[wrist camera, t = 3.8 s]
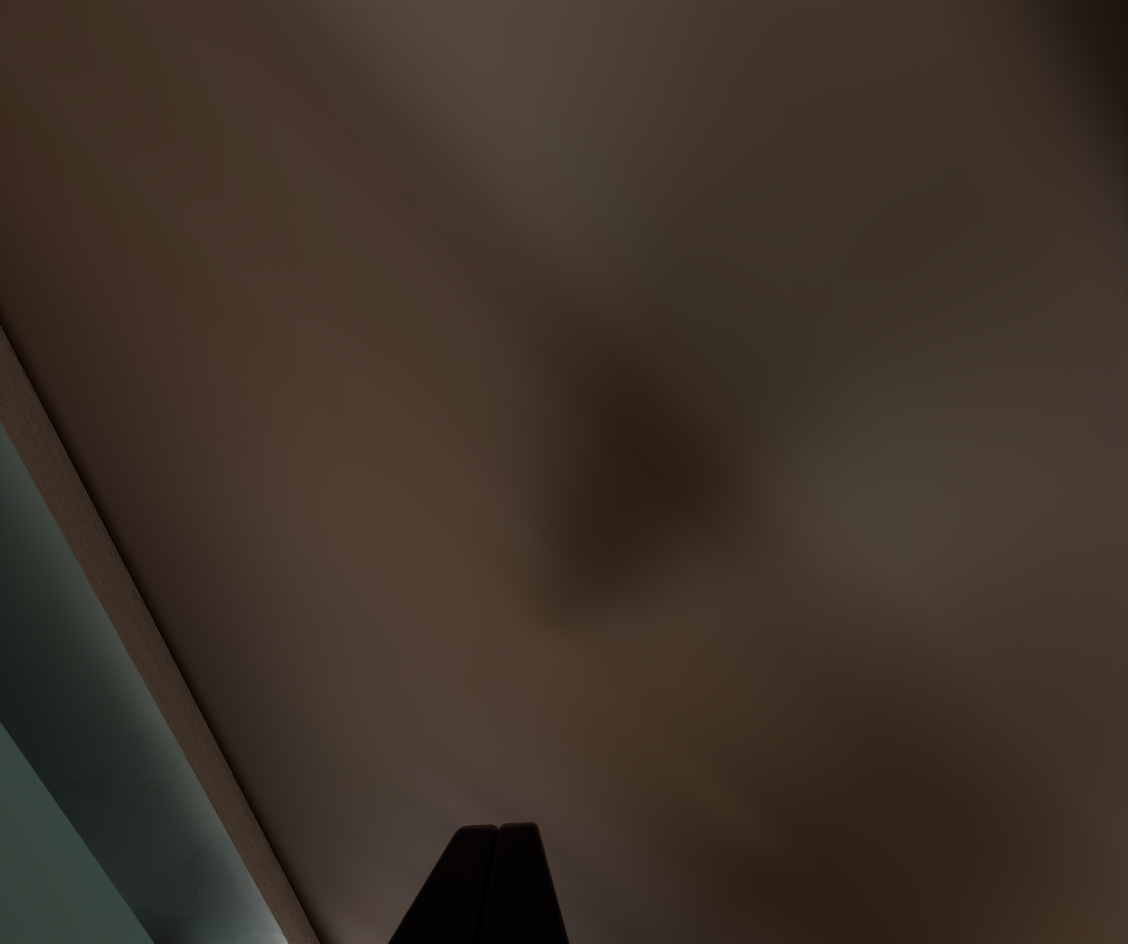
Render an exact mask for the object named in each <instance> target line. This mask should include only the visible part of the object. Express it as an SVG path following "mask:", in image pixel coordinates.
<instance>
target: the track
mask: <svg viewBox="0 0 1128 944" xmlns="http://www.w3.org/2000/svg"><path fill="white" fill-rule="evenodd" d="M0 722H1V724H2V725H3V727H4V728H5V729H6V731H7V732H8V734H9V735H10V737H11V738H12V740H13V741H14V742H15V744H16V745H17V747H18V748H19V750H20V751H21V752H22V754H23V755H24V757H25V758H26V760H27V761H28V763H29V764H30V765H31V767H32V768H33V770H34V771H35V773H36V774H37V775H38V777H39V778H40V780H41V781H42V783H43V784H44V786H45V787H46V788H47V790H48V791H49V793H50V794H51V796H52V797H53V799H54V800H55V801H56V803H57V804H58V806H59V807H60V809H61V810H62V811H63V813H64V814H65V816H66V817H67V819H68V820H69V822H70V823H71V824H72V826H73V827H74V829H75V830H76V832H77V833H78V834H79V836H80V837H81V839H82V840H83V842H84V843H85V845H86V846H87V847H88V849H89V850H90V852H91V853H92V855H93V856H94V857H95V859H96V860H97V862H98V863H99V865H100V866H101V868H102V869H103V870H104V872H105V873H106V875H107V876H108V878H109V879H110V881H111V882H112V883H113V885H114V886H115V888H116V889H117V891H118V892H119V893H120V895H121V896H122V898H123V899H124V901H125V902H126V904H127V905H128V906H129V908H130V909H131V911H132V912H133V914H134V915H135V916H136V918H137V919H138V921H139V922H140V924H141V925H142V927H143V928H144V929H145V931H146V932H147V934H148V935H149V937H150V938H151V939H152V941H153V942H154V944H320V942H319V940H318V938H317V936H316V934H315V932H314V930H313V928H312V926H311V924H310V923H309V921H308V919H307V917H306V915H305V913H304V911H303V909H302V907H301V905H300V903H299V901H298V899H297V897H296V895H295V894H294V892H293V890H292V888H291V886H290V884H289V882H288V880H287V878H286V876H285V874H284V872H283V870H282V868H281V866H280V865H279V863H278V861H277V859H276V857H275V855H274V853H273V851H272V849H271V847H270V845H269V843H268V841H267V839H266V838H265V836H264V834H263V832H262V830H261V828H260V826H259V824H258V822H257V820H256V818H255V816H254V814H253V812H252V810H251V809H250V807H249V805H248V803H247V801H246V799H245V797H244V795H243V793H242V791H241V789H240V787H239V785H238V783H237V781H236V780H235V778H234V776H233V774H232V772H231V770H230V768H229V766H228V764H227V762H226V760H225V758H224V756H223V754H222V752H221V751H220V749H219V747H218V745H217V743H216V741H215V739H214V737H213V735H212V733H211V731H210V729H209V727H208V725H207V723H206V722H205V720H204V718H203V716H202V714H201V712H200V710H199V708H198V706H197V704H196V702H195V700H194V698H193V696H192V694H191V693H190V691H189V689H188V687H187V685H186V683H185V681H184V679H183V677H182V675H181V673H180V671H179V669H178V667H177V665H176V664H175V662H174V660H173V658H172V656H171V654H170V652H169V650H168V648H167V646H166V644H165V642H164V640H163V638H162V637H161V635H160V633H159V631H158V629H157V627H156V625H155V623H154V621H153V619H152V617H151V615H150V613H149V611H148V609H147V608H146V606H145V604H144V602H143V600H142V598H141V596H140V594H139V592H138V590H137V588H136V586H135V584H134V582H133V580H132V579H131V577H130V575H129V573H128V571H127V569H126V567H125V565H124V563H123V561H122V559H121V557H120V555H119V553H118V551H117V550H116V548H115V546H114V544H113V542H112V540H111V538H110V536H109V534H108V532H107V530H106V528H105V526H104V524H103V522H102V521H101V519H100V517H99V515H98V513H97V511H96V509H95V507H94V505H93V503H92V501H91V499H90V497H89V495H88V493H87V492H86V490H85V488H84V486H83V484H82V482H81V480H80V478H79V476H78V474H77V472H76V470H75V468H74V466H73V464H72V463H71V461H70V459H69V457H68V455H67V453H66V451H65V449H64V447H63V445H62V443H61V441H60V439H59V437H58V436H57V434H56V432H55V430H54V428H53V426H52V424H51V422H50V420H49V418H48V416H47V414H46V412H45V410H44V408H43V407H42V405H41V403H40V401H39V399H38V397H37V395H36V393H35V391H34V389H33V387H32V385H31V383H30V381H29V379H28V378H27V376H26V374H25V372H24V370H23V368H22V366H21V364H20V362H19V360H18V358H17V356H16V354H15V352H14V350H13V349H12V347H11V345H10V343H9V341H8V339H7V337H6V335H5V333H4V331H3V329H2V327H1V325H0Z"/></svg>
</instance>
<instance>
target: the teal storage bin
mask: <svg viewBox="0 0 1128 944" xmlns="http://www.w3.org/2000/svg"><path fill="white" fill-rule="evenodd" d="M0 944H154V942H153V941H152V939H151V938H150V937H149V935H148V934H147V932H146V931H145V929H144V928H143V927H142V925H141V924H140V922H139V921H138V919H137V918H136V916H135V915H134V914H133V912H132V911H131V909H130V908H129V906H128V905H127V904H126V902H125V901H124V899H123V898H122V896H121V895H120V893H119V892H118V891H117V889H116V888H115V886H114V885H113V883H112V882H111V881H110V879H109V878H108V876H107V875H106V873H105V872H104V870H103V869H102V868H101V866H100V865H99V863H98V862H97V860H96V859H95V857H94V856H93V855H92V853H91V852H90V850H89V849H88V847H87V846H86V845H85V843H84V842H83V840H82V839H81V837H80V836H79V834H78V833H77V832H76V830H75V829H74V827H73V826H72V824H71V823H70V822H69V820H68V819H67V817H66V816H65V814H64V813H63V811H62V810H61V809H60V807H59V806H58V804H57V803H56V801H55V800H54V799H53V797H52V796H51V794H50V793H49V791H48V790H47V788H46V787H45V786H44V784H43V783H42V781H41V780H40V778H39V777H38V775H37V774H36V773H35V771H34V770H33V768H32V767H31V765H30V764H29V763H28V761H27V760H26V758H25V757H24V755H23V754H22V752H21V751H20V750H19V748H18V747H17V745H16V744H15V742H14V741H13V740H12V738H11V737H10V735H9V734H8V732H7V731H6V729H5V728H4V727H3V725H2V724H1V722H0Z"/></svg>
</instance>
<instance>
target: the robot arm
mask: <svg viewBox="0 0 1128 944" xmlns="http://www.w3.org/2000/svg"><path fill="white" fill-rule="evenodd" d="M388 944H569V940H568V936H567V933H566V929H565V925H564V921H563V918H562V914H561V910H560V907H559V903H558V899H557V895H556V892H555V888H554V884H553V880H552V877H551V873H550V869H549V866H548V862H547V858H546V854H545V851H544V847H543V843H542V839H541V836H540V832H539V828H538V826H537V825H536V824H535V823H533V822H524V823H507V824H503V825H502V826H500V827H499V829H498V827H497V826H495V825H492V824H489V825H472V826H463V827H461V828H460V829H458V830H457V831H456V833H455V834H454V836H453V837H452V839H451V840H450V842H449V844H448V845H447V847H446V849H445V850H444V852H443V854H442V855H441V857H440V859H439V860H438V862H437V864H436V865H435V867H434V869H433V870H432V872H431V873H430V875H429V877H428V878H427V880H426V882H425V883H424V885H423V887H422V888H421V890H420V892H419V893H418V895H417V897H416V898H415V900H414V902H413V903H412V905H411V906H410V908H409V910H408V911H407V913H406V915H405V916H404V918H403V920H402V921H401V923H400V925H399V926H398V928H397V930H396V931H395V933H394V935H393V936H392V938H391V940H390V941H389V943H388Z"/></svg>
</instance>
